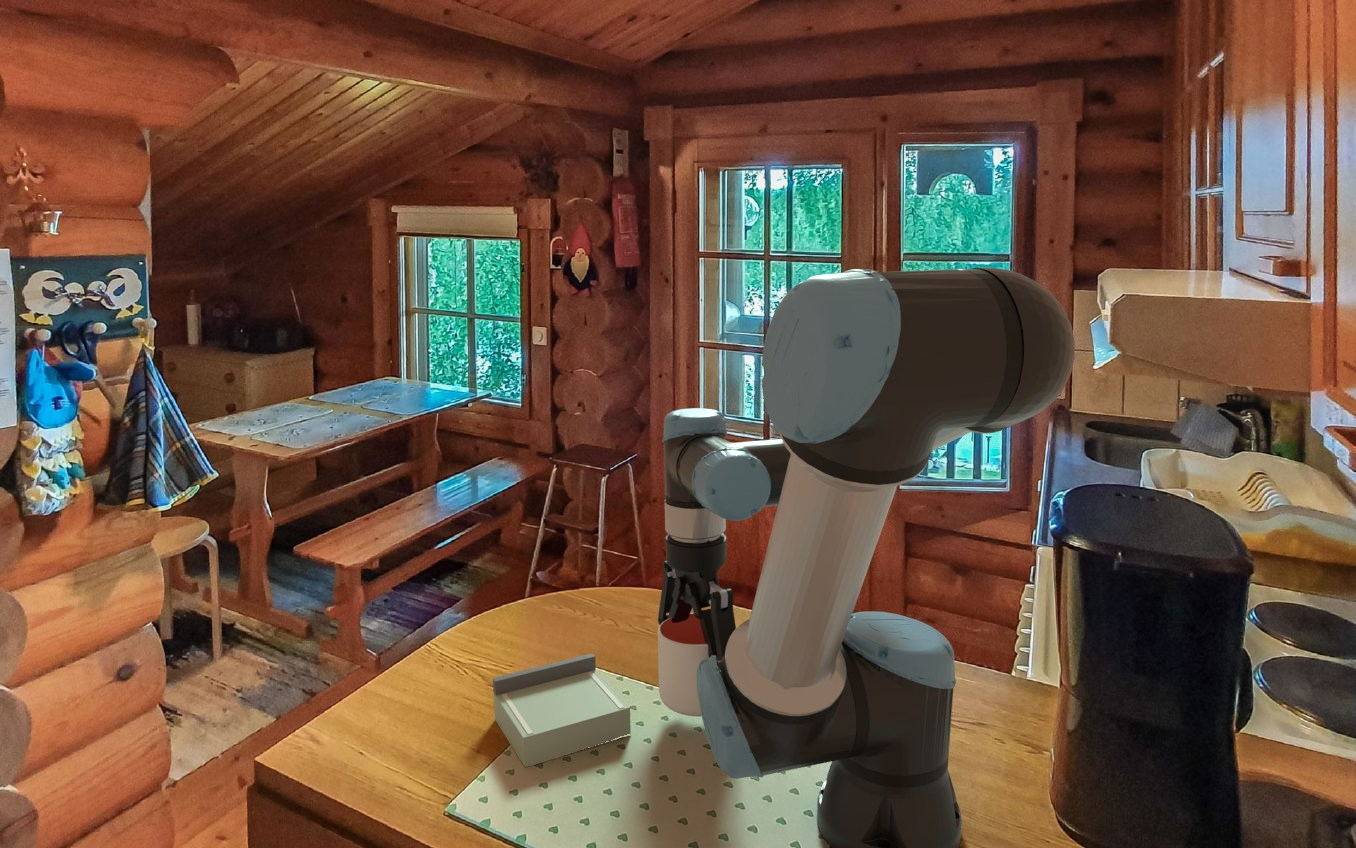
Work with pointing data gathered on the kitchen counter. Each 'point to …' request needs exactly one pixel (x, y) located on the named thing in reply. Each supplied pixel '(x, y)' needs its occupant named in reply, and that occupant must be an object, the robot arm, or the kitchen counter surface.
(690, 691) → the cup
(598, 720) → the dock
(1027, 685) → the kitchen counter surface
